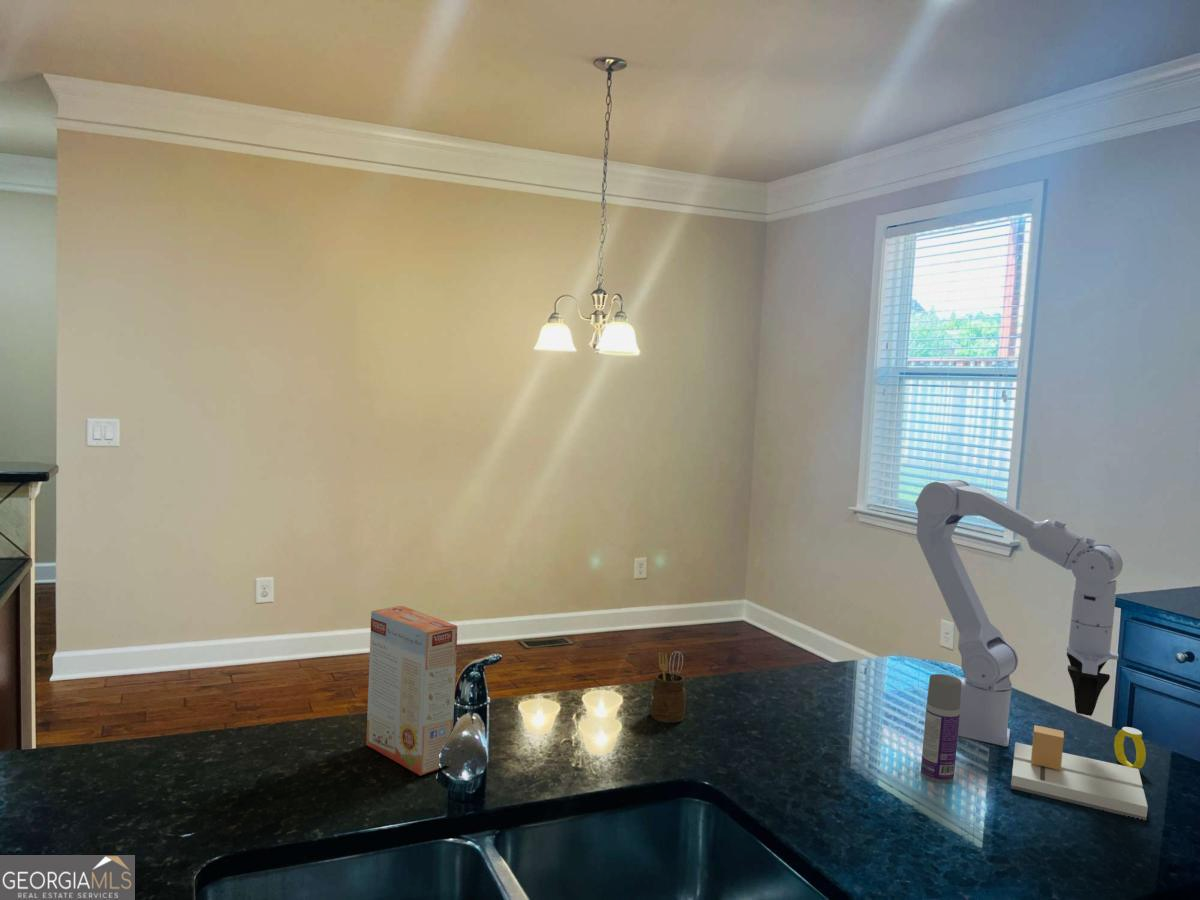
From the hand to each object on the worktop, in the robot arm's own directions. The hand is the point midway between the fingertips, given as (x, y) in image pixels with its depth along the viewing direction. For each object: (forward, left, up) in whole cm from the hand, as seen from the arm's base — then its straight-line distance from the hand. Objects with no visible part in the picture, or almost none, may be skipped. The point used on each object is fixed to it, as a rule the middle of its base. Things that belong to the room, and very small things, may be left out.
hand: (1083, 706), depth 136 cm
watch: (+7, +4, -10) cm, 13 cm away
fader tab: (-5, -9, -9) cm, 14 cm away
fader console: (-1, -9, -9) cm, 13 cm away
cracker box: (-88, -57, -10) cm, 105 cm away
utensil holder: (-62, -21, -10) cm, 66 cm away
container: (-19, -18, -10) cm, 28 cm away
